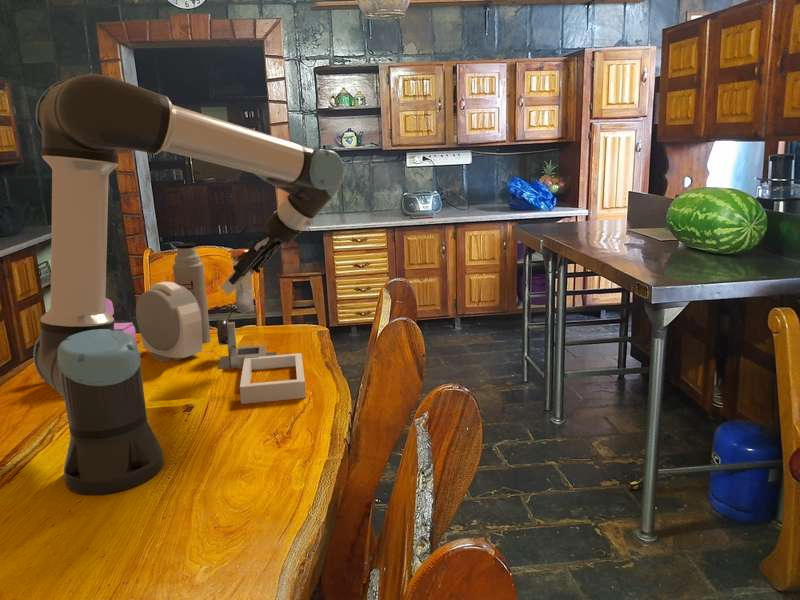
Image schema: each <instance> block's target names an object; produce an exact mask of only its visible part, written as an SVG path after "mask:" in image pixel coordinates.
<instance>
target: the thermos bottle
mask: <svg viewBox="0 0 800 600" xmlns="http://www.w3.org/2000/svg"><path fill="white" fill-rule="evenodd" d="M195 247H196V243H190V242H189V243H188V242H187V243H179V244H177V245H176V248H177V250H176V252H177V253H176V254H177V255H176V256H174V259H173V260H174V261H173V262H174V264H173V265H172V272H173V281H174V282H173V283H176V284H177V285H180V286H183V287H185V288H186V289H188V290H189V291H190V292H191V293H192V294H193V296H194V297H195V299H196V301H197V302H198V305H199V308H200V311H201V316H202V345H203V344H209V343H210V342H211V331H210V321H209V311H208V300H207V290H206V281H205V279H206V278H205V272H204V270H205V269H204V263H203V262H201V260H202V259H201V256H200V255H199V254H198V253H197V252H196V251H197V250H196V248H195Z"/></svg>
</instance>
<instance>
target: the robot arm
mask: <svg viewBox="0 0 800 600" xmlns="http://www.w3.org/2000/svg"><path fill="white" fill-rule="evenodd" d="M35 120H36V126H37V127H38V130H39V132H40V134H41V141H42V142H41V147H42V149H41V150H42V151H41V157H42V159H43V160H44V161H45V162H46V163H47V164H48V166H49V167H50V168H51V170H52V171H51V172H52V176H51V177H52V179H51V181H52V182H51V241H50V242H51V247H50V248H51V249H50V251H51V252H50V253H51V255H50V256H51V259H50V308H49V310H48V311H46V313H45V312H44V314H43V315H42V316H41V317H40V324H39V327H40V328H39V336H38V338H37V339H36V341H35V343H34V347H33V362H34V367H35V369H36V371H37V373H38V375H39V376H40V377H41V378H42V380H43V381H44V382H45V383H47V384H48V385H49V386H51V387H52V388H53V389H54V390H55V391H56V392H57V393H58V394H60V395H61V397H63V400H64V403H65V410H66V415H67V423H68V428H69V434H70V435H69V436H70V438H69V439H70V440H69V442H68V443H69V444H68V449H67V452H66V457H65V462H64V467H63V477H64V481H65V486H66V488H68V489H69V490H70V491H72V492H74V493H77V494H80V495H81V494H82V495H106V494H112V493H117V492H121V491H124V490H128V489H131V488H134V487H136V486H139V485H141V484H143V483H146V482H147V481H148V480H150V479H152V478H153V477H154V476H156V475H157V474H158V473H159V472H160V471H161V470H162V468H163V466H164V454H163V448H162V446H161V444H160V442H159V440H158V439H157V437H156V435H155V433H154V432H153V428H152V427H151V425H150V424H149V422H148V421H149V420H148V417H147V416H148V415H147V408H146V401H145V391H144V384H143V375H142V367H141V363H142V362H141V360H142V359H141V358H142V357H141V355H140V351H139V349H138V343H137V340H136V341H135V339H134V338H133V337H132V336H131V335H129V334H127V333H125V332H122V331H118V330H115V331H114V323H115V318H114V317H113V315H112V316H111V315H110V314H109V313H108V312H107V311H106V309H105V298H107V297H106V294H107V292H106V291H107V256H108V255H107V254H108V253H107V251H108V250H107V249H108V216H109V215H108V208H109V206H108V205H109V200H108V199H109V176H110V174H111V173H112V172H113V171H114V170H115V169H117V167H118V166H119V152H120V151H119V150H123V151H124V150H125V151H127V150H129V151H136V152H143V153H147V154H150V155H157V154H159V153H161V152H162V151H163V152H168V153H172V154H176V155H180V156H183V157H187V158H192V159H196V160H200V161H203V162H207V163H212V164H215V165H220V166H223V167H227V168H230V169H235V170H238V171H239V170H240V171H243V172H247V173H251V174H254V175H255V176H256V177H259V178H260V179H261V180H262V181H263V182H267V183H269V184H271V185H272V186H274V187H276V188H278V189H279V190H280V191H281V190H282V191H283V192H285V193H287V194H288V195H287V196H286V197H285V199H284V200H283V201H282V202H281V203H280V204H279V206H277V207H276V209H277V210H274V211H273V212H272V214H271V215H270V216H269V217H268V219H267V220H266V222H265V223H266V227H267V229H268V232H267V233H266V232H264V233H263V234H262V235H261V237H260V238H259V240H258V239H256V240H255V241H253V243H252V245H251V246H250V247H249V248H248V249H249V250H248V251H247V252H246V254H245V255H244V256H243V257H242V258H241V260H240V261H239V262H238V263H237V264H236V265H234V266H233V265H232V268H233V269H234V270H235V271H234V270H233V269H232V270H233V272H232V273H231V274H230V275H229V276H228V278H227V279H225V281H224V282H223V284H222V285H220V289H221V290H222V291H223V292H224V293H225V294H226V295H227V296H230V295H231V294H232V293H233V292H234V291H235V288H236V287H237V286H238V285H239V284H240V282H241V281H242V280H243V279H244V278H245V277H246V276H245V275H246V274H247V273H248V272H249V270H250V269H251V277H253V276H254V274H255V273H256V274H260V273H261V270H260V269H261V268H264V266H265V264H267V262H268V261H269V260H270V259H271V258H272V256H274V254H276V253H277V251H278V250H279V249H280V248H281V247H282V245H284V244H285V243H286V244H291V243H293V242H294V241H295V239H296V238H297V237H298V236H299V235H300V234H301V233H302V231H303V230H305V228H306V227H307V226H308V227H310V226H311V225H312V222H311V221H312V220H313V219H314V218H315V217H316V216H317V214H318V213H319V212H320V211H321V210H322V209H323V208H324V207H325V206H326V205H327V204H328V202H329V201H330V200H332V199H333V197H334V196H335V194H337V192H338V191H339V189H340V188H341V186H342V183H343V181H342V179H343V177H344V172H345V171H344V170H345V169H344V162H343V160H342V158H341V156H340V155H339V154H338V153H337V152H336V151H334V150H332V149H331V150H330V149H325V148H320V149H316V148H312V147H310V146H305V145H301V144H298V143H296V142H293V141H290V140H287V139H283V138H279V137H277V136H274V135H270V134H267V133H264V132H261V131H257V130H255V129H252V128H248V127H246V126H242V125H239V124H235V123H232V122H228V121H226V120H223V119H220V118H215V117H214V116H210V115H206V114H203V113H200V112H197V111H194V110H191V109H187V108H183V107H181V106H178V105H175V104H172V102H171V100H170V99H169V97H168V96H166V95H164V94H161V93H158V92H154V91H152V90H148V89H146V88H144V87H141V86H138V85H135V84H132V83H130V82H127V81H125V80H124V81H123V80H121V79H118V78H115V77H112V76H109V75H105V74H99V73H86V74H82V75H78V76H75V77H73V78H70V79H64V80H60V81H58V82H55V83H53V84H51V86H49V87H48V88H46V90H45V91H44V92H43V94H42V95H41V96H40V97H39V99H38V101H37V104H36V108H35Z"/></svg>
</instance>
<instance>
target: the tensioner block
mask: <svg viewBox="0 0 800 600" xmlns="http://www.w3.org/2000/svg"><path fill="white" fill-rule="evenodd" d="M216 323H217V326H216V327H217V328H216V329H217V330H216V331H217V340H218V345H219V346H227V353H228V355H221V356H220V358H219V361H218V365H217V367H216V368H217V369H216V370H225V369H226V370H228V369H231V370H232V369H238V370H243V364H244V358H254V357H260V356H272V355H277V351H272V352H271V351H270V352H267V348H266V345H261V346H260V345H249V346H248V345H247V346H238V347H237V336H236V324H235V321H230V322H229V320H228V319H227V318H225V319H217V322H216Z"/></svg>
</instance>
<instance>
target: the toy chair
mask: <svg viewBox="0 0 800 600" xmlns="http://www.w3.org/2000/svg"><path fill="white" fill-rule="evenodd" d="M105 309H106V311H107V312H108V313H109V314H110V315H111V316H112V317H113V316H114V313H115V310H114V303H113V302H112V300H110V299H109V298H107V297H105ZM115 330H118V331H122V332H125V333H127V334H129V335H131V336H132V337H133V338H134V339H135V341H136V342H137V337H136V327H135V326H134V324H133V322H132V321H131V322H114V331H115Z"/></svg>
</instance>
